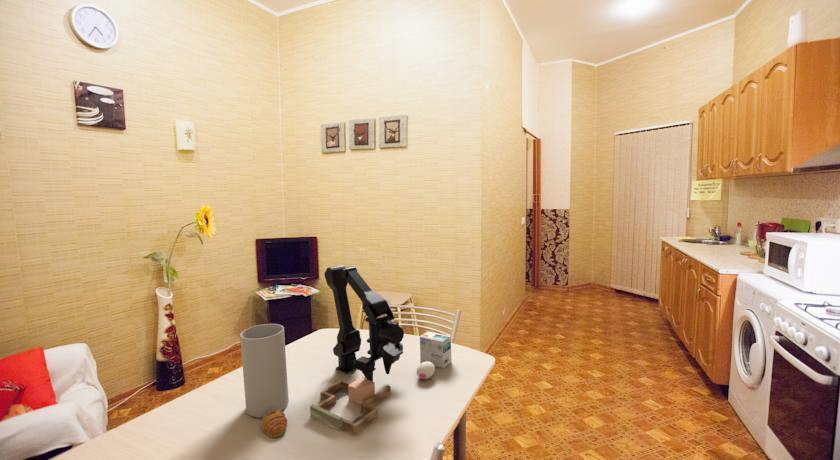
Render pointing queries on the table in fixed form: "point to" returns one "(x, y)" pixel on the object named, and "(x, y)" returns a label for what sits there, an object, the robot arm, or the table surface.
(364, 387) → the terracotta block
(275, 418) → the pastry
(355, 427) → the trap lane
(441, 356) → the light bulb box
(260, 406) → the cylinder vase
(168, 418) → the table surface
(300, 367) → the table surface
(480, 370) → the table surface
